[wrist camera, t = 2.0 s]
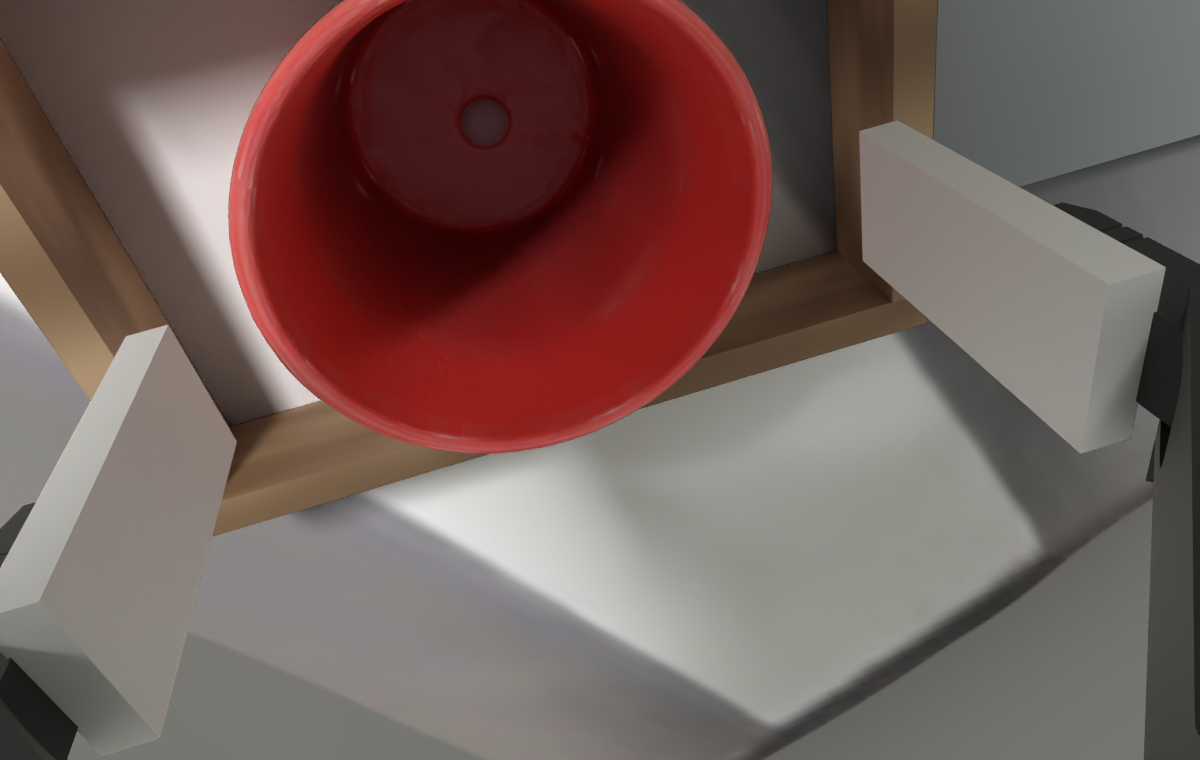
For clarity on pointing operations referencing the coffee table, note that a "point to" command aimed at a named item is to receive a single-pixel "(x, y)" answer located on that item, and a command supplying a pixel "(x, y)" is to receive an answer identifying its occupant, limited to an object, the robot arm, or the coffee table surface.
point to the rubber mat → (1064, 81)
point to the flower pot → (499, 212)
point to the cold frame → (369, 459)
